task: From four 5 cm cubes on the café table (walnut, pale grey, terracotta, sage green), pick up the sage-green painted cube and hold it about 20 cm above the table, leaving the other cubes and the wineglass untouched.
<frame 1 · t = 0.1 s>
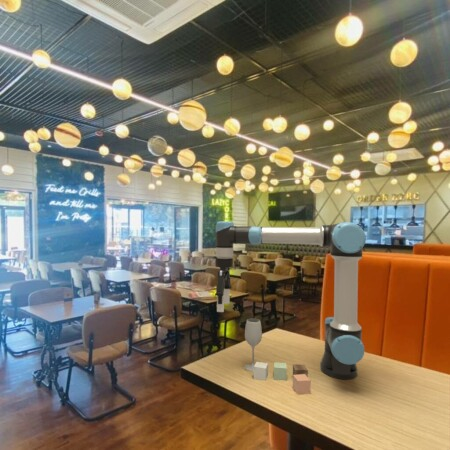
hand: (223, 307, 129), 28 cm above the table, fingers open, 13 cm apart
sage cube: (280, 377, 127), on the table
wineglass: (252, 368, 135), on the table
walnut cube: (300, 379, 125), on the table
grey cube: (260, 377, 127), on the table
terracotta cube: (301, 390, 116), on the table
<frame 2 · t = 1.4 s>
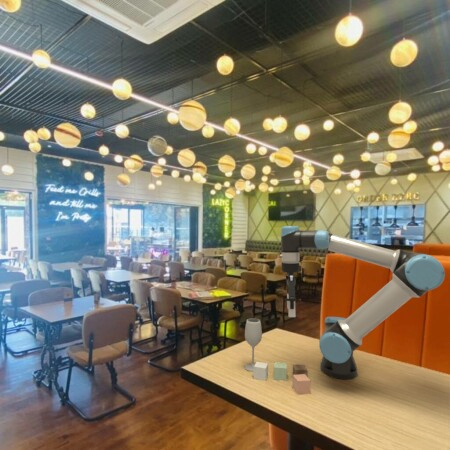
hand: (291, 312, 129), 26 cm above the table, fingers open, 13 cm apart
nothing on the table moved.
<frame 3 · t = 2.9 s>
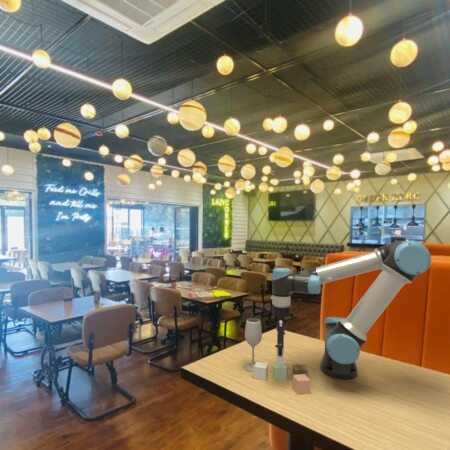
hand: (280, 356, 127), 8 cm above the table, fingers open, 13 cm apart
nothing on the table moved.
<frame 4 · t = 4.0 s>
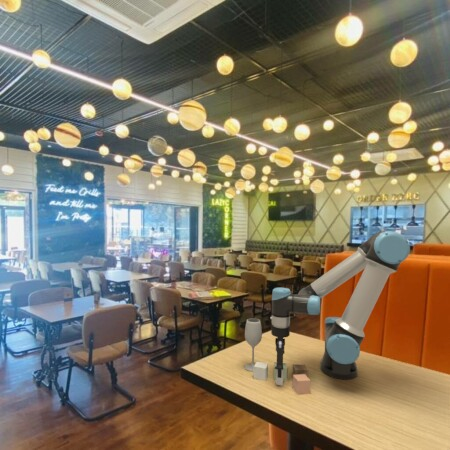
hand: (279, 376, 127), 0 cm above the table, fingers open, 13 cm apart
nothing on the table moved.
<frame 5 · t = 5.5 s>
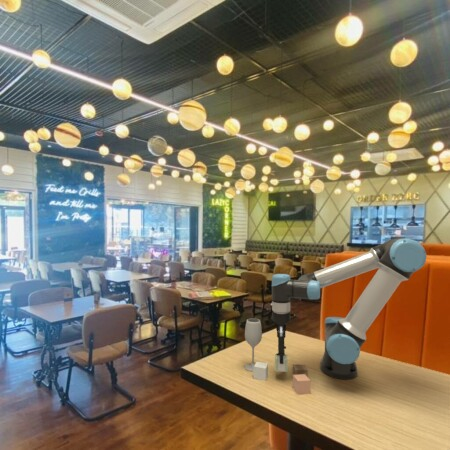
hand: (281, 367, 126), 4 cm above the table, fingers closed on sage cube, 5 cm apart
sage cube: (281, 368, 126), point 3 cm above the table, touching gripper
everything else where it was.
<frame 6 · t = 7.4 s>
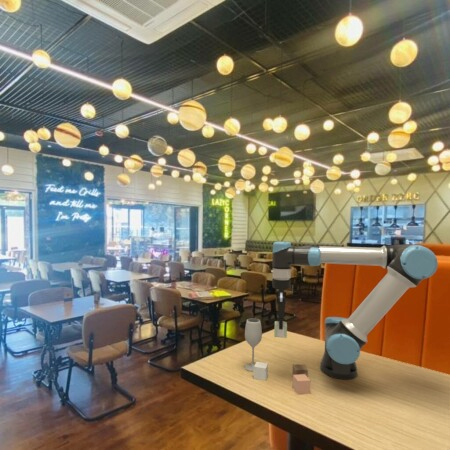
hand: (280, 334, 127), 18 cm above the table, fingers closed on sage cube, 5 cm apart
sage cube: (280, 335, 127), point 17 cm above the table, touching gripper
everything else where it was.
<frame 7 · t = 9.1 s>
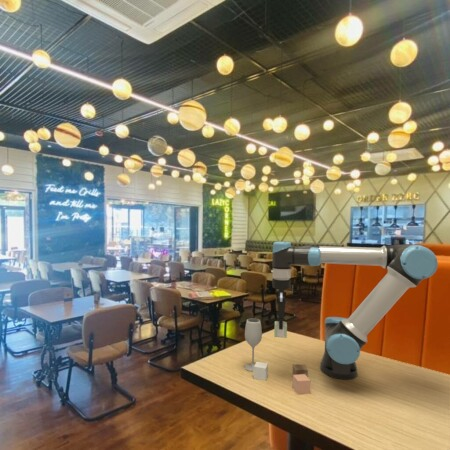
hand: (280, 334, 127), 18 cm above the table, fingers closed on sage cube, 5 cm apart
sage cube: (280, 335, 127), point 17 cm above the table, touching gripper
everything else where it was.
at the end: the gripper is holding sage cube; sage cube point 17.3 cm above the table; grey cube moved 0.1 cm from its start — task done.
